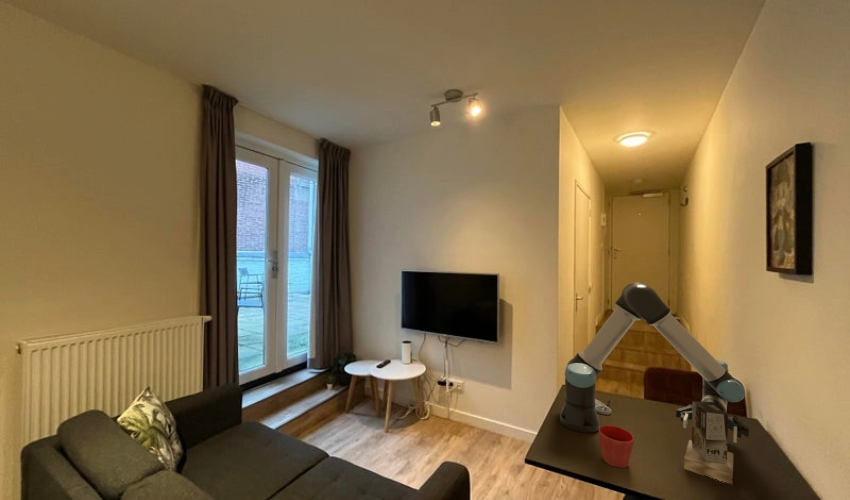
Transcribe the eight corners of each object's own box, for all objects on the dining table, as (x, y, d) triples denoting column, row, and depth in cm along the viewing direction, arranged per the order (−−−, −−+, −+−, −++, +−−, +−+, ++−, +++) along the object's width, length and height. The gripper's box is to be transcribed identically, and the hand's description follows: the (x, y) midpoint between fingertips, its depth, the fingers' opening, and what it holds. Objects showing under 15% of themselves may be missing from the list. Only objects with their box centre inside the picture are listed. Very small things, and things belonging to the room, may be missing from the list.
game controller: (581, 401, 169) (581, 397, 168) (605, 399, 170) (605, 396, 170) (600, 416, 154) (601, 411, 154) (627, 414, 155) (627, 410, 155)
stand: (684, 468, 117) (684, 456, 117) (689, 450, 127) (689, 439, 127) (732, 485, 109) (732, 472, 108) (733, 465, 119) (733, 453, 119)
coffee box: (728, 464, 113) (729, 414, 112) (705, 461, 114) (706, 412, 114) (712, 448, 122) (713, 402, 121) (690, 445, 123) (691, 400, 123)
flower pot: (631, 456, 123) (632, 428, 123) (635, 474, 113) (635, 444, 113) (598, 448, 128) (598, 422, 128) (598, 465, 118) (599, 437, 118)
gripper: (757, 430, 123) (760, 457, 107) (673, 408, 139) (664, 429, 123) (758, 409, 123) (760, 433, 107) (673, 389, 139) (664, 407, 123)
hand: (708, 431), depth 115 cm, fingers open, 12 cm apart
